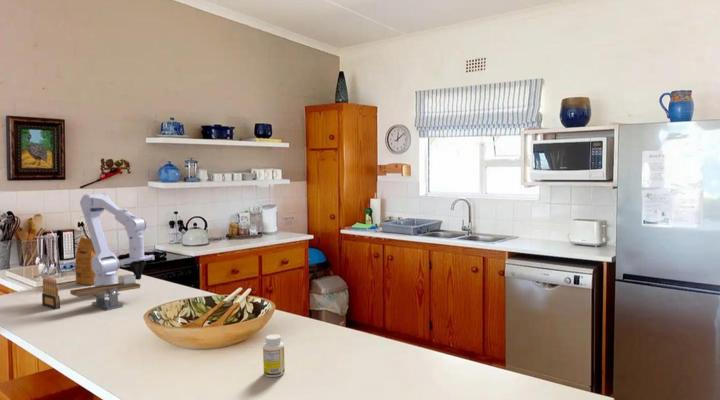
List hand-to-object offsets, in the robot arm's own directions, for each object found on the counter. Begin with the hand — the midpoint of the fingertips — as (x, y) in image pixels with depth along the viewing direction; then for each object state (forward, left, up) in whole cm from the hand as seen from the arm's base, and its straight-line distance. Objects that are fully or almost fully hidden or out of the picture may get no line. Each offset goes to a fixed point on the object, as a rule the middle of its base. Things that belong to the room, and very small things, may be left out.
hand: (138, 279), depth 219 cm
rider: (-1, -5, -2) cm, 5 cm away
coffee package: (-47, +2, -8) cm, 48 cm away
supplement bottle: (+104, -19, -8) cm, 106 cm away
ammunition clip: (-17, -27, -9) cm, 33 cm away
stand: (0, -13, -8) cm, 16 cm away
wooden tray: (0, -13, -2) cm, 14 cm away
